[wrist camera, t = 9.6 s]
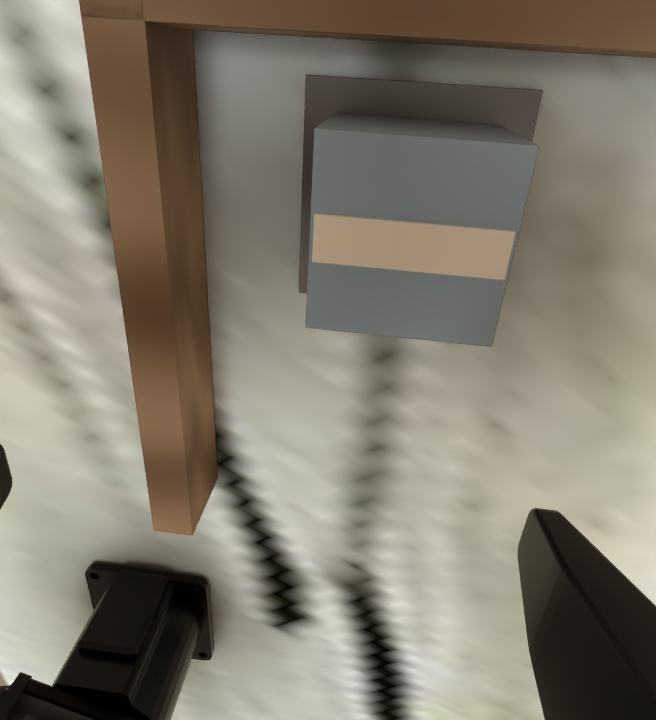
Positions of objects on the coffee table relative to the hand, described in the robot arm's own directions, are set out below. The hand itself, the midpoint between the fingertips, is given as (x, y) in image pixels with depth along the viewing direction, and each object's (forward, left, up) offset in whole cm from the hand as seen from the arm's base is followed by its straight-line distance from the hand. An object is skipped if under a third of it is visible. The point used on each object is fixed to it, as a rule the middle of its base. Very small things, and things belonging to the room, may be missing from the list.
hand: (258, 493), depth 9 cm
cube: (+3, -2, -11) cm, 12 cm away
